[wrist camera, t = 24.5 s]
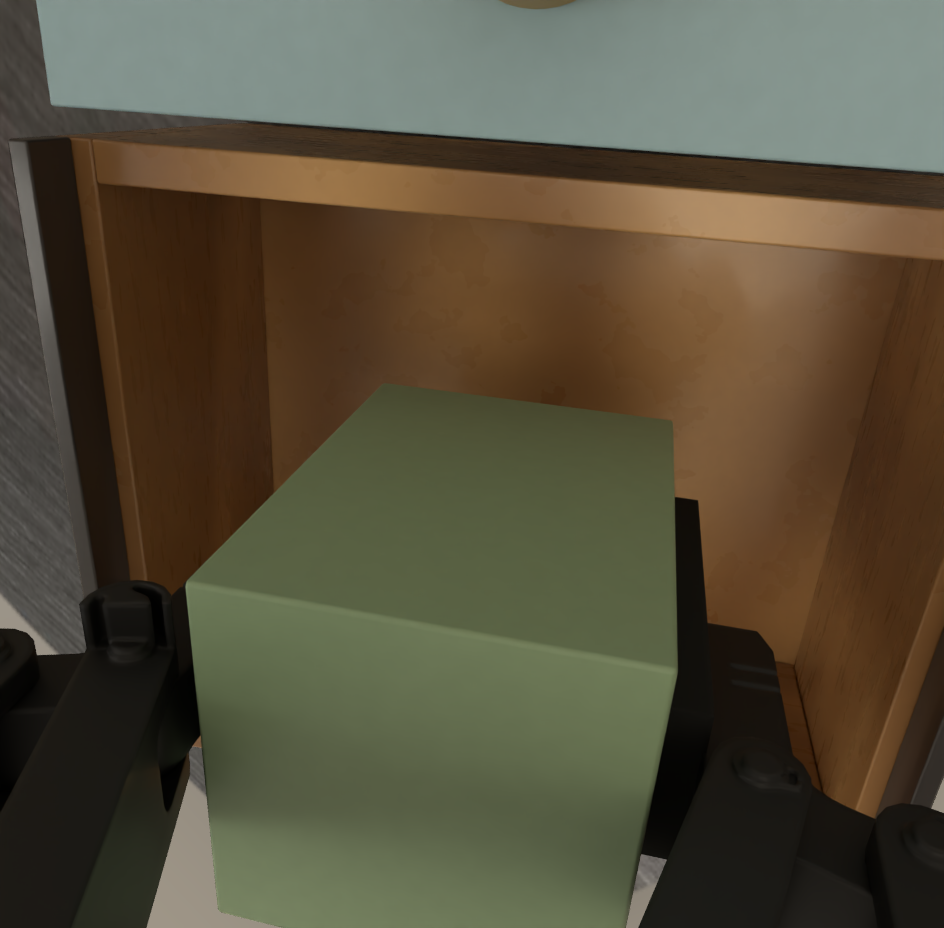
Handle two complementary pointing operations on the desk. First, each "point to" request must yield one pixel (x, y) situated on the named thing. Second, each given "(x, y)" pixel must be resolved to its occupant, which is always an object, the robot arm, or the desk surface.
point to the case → (526, 366)
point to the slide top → (530, 70)
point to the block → (442, 669)
